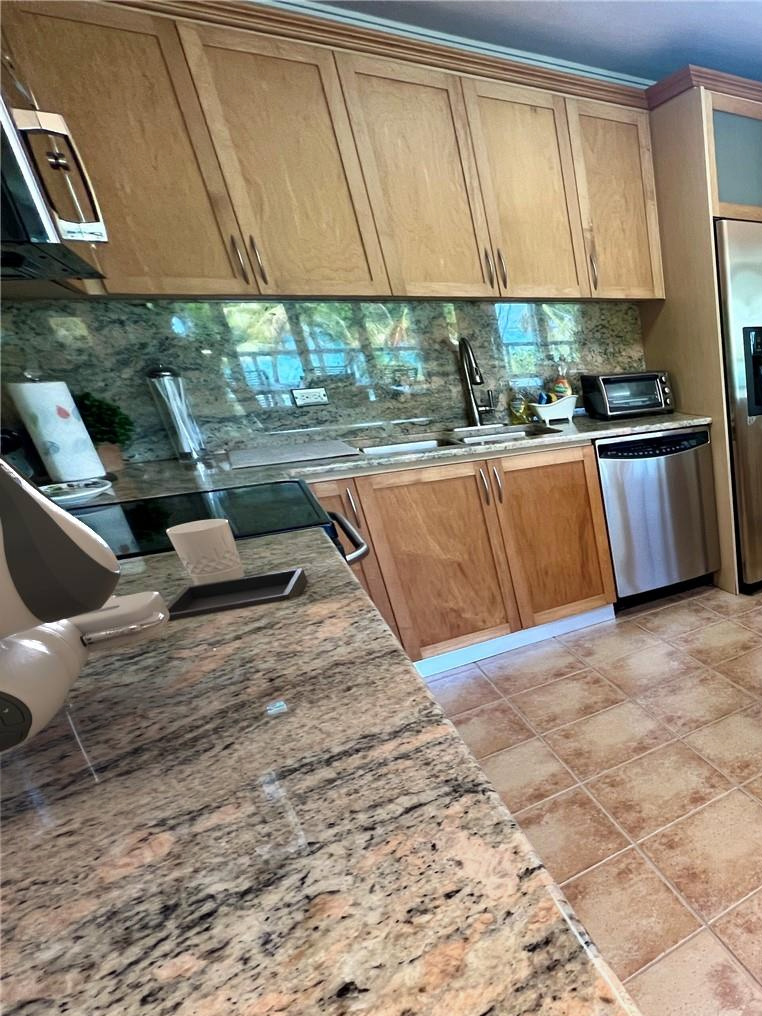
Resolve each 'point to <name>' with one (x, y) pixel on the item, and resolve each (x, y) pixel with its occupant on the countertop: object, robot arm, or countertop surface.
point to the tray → (237, 593)
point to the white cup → (207, 550)
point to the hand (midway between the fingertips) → (54, 613)
